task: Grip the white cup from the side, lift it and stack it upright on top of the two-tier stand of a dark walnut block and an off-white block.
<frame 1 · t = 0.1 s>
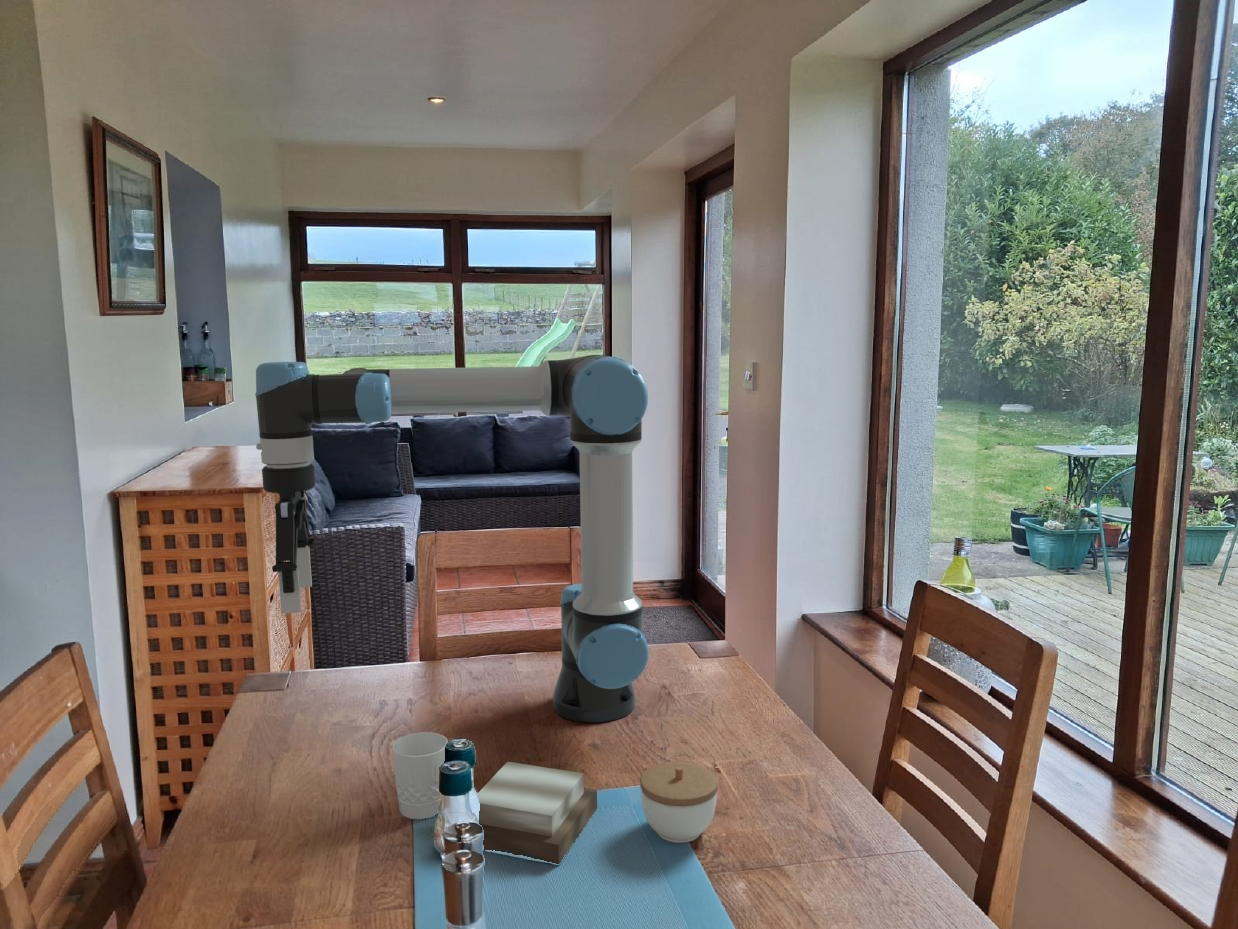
hand: (297, 599, 143), 28 cm above the table, tool pointing down, fingers open, 13 cm apart
white cup: (422, 809, 135), on the table
block stand: (529, 826, 130), on the table
lidded jar: (678, 832, 129), on the table
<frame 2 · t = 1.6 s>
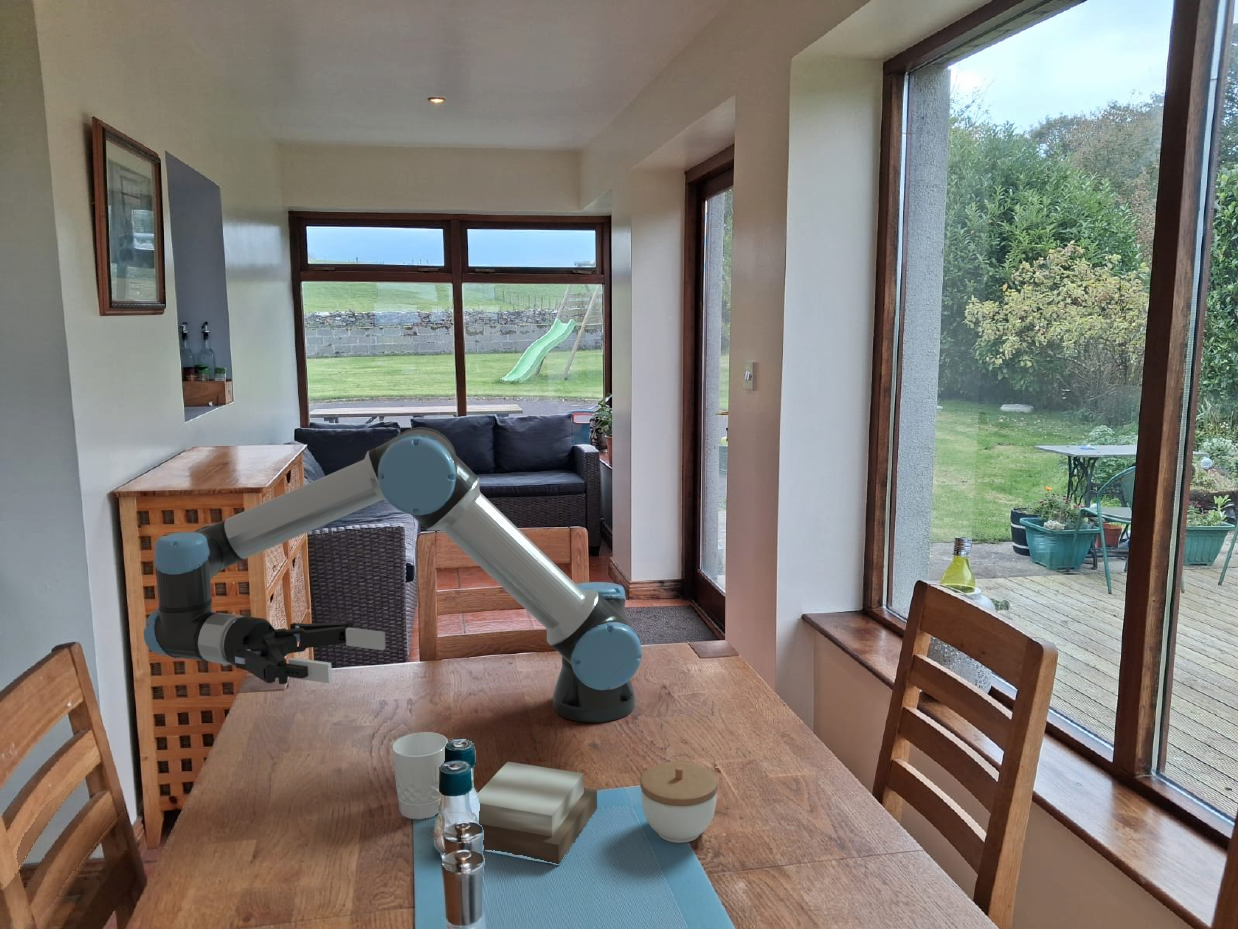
hand: (358, 656, 135), 22 cm above the table, tool horizontal, fingers open, 13 cm apart
nothing on the table moved.
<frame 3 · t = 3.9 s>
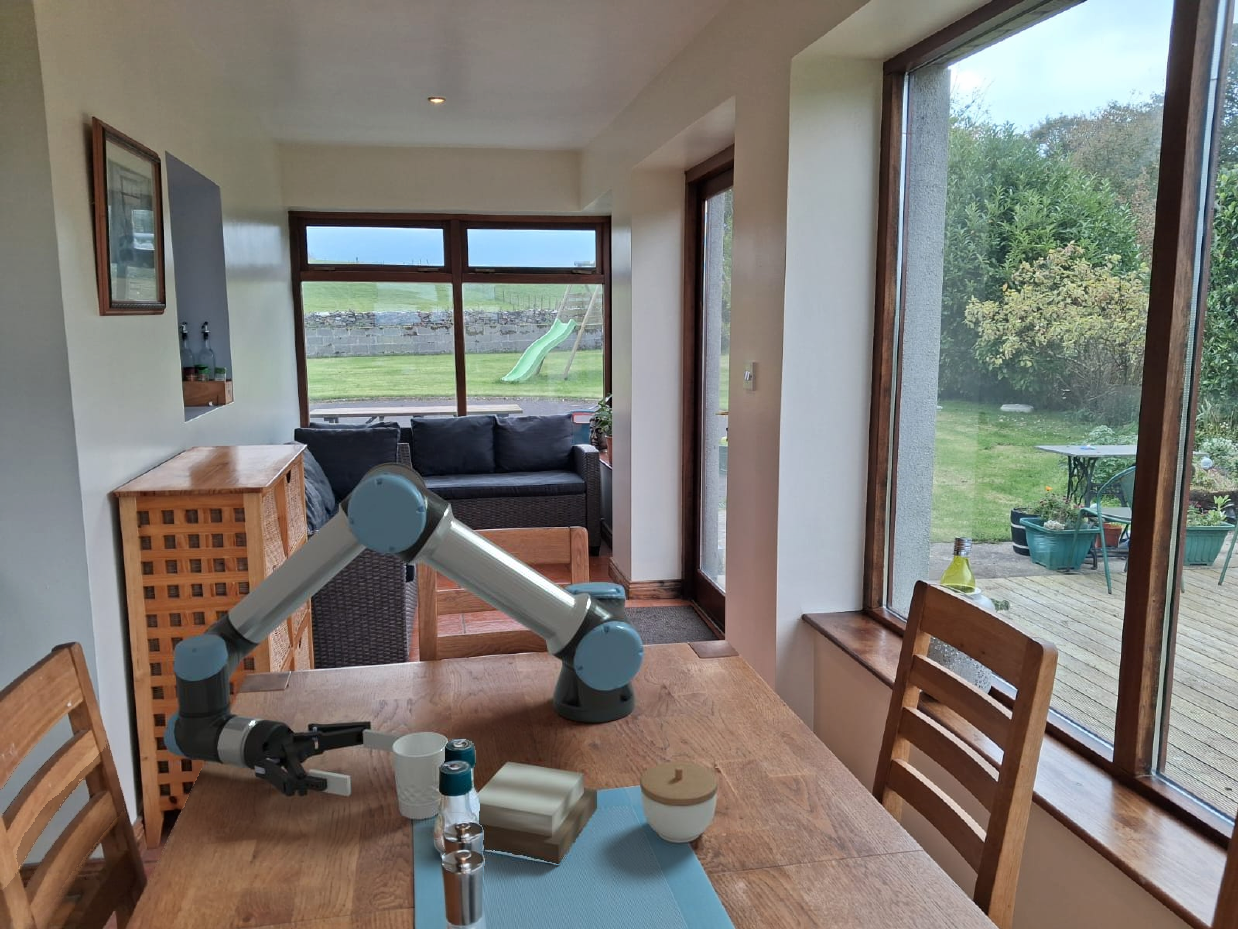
hand: (376, 764, 136), 6 cm above the table, tool horizontal, fingers open, 13 cm apart
nothing on the table moved.
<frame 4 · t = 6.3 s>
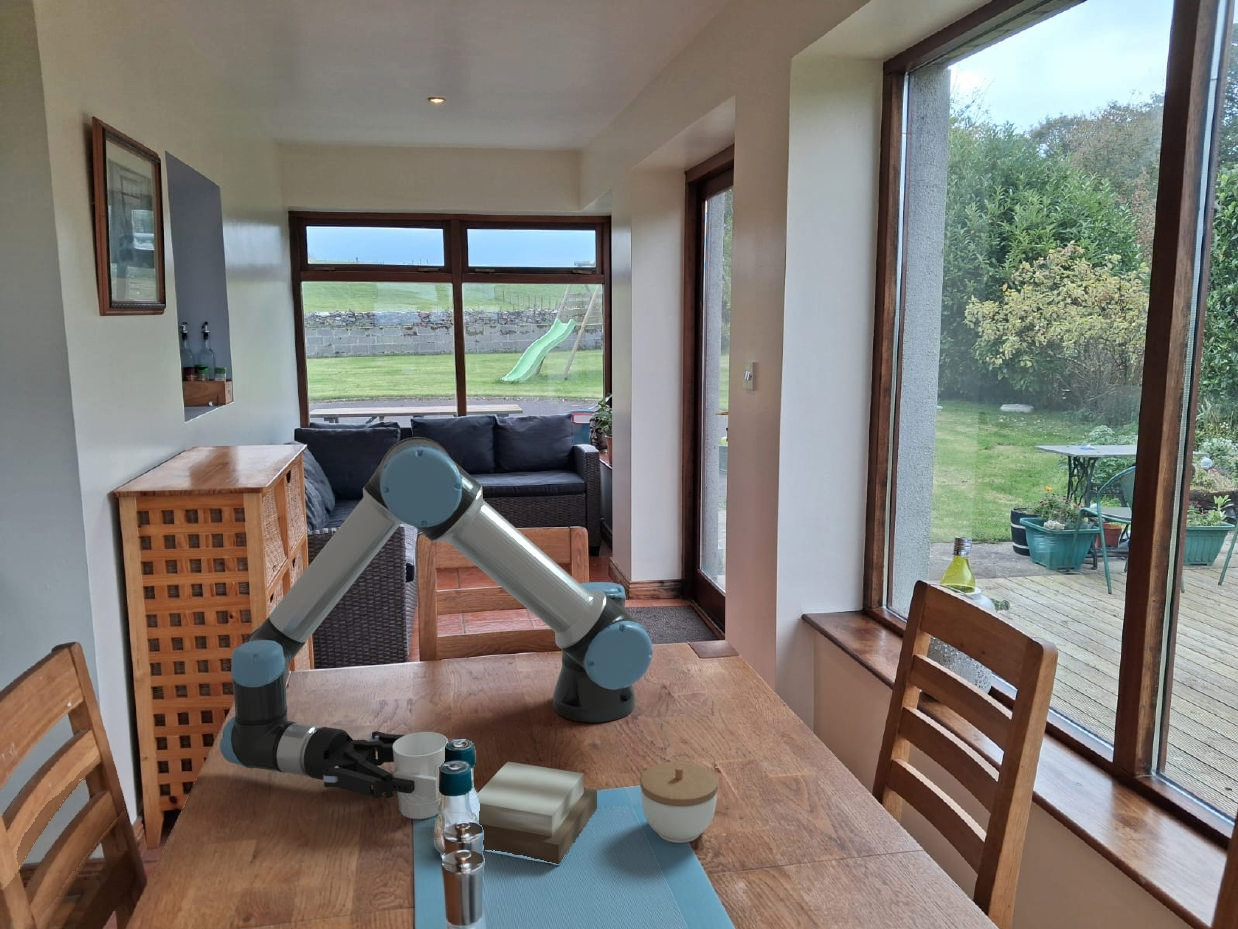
hand: (451, 774, 133), 6 cm above the table, tool horizontal, fingers closed on white cup, 7 cm apart
white cup: (422, 809, 135), on the table, touching gripper
everything else where it was.
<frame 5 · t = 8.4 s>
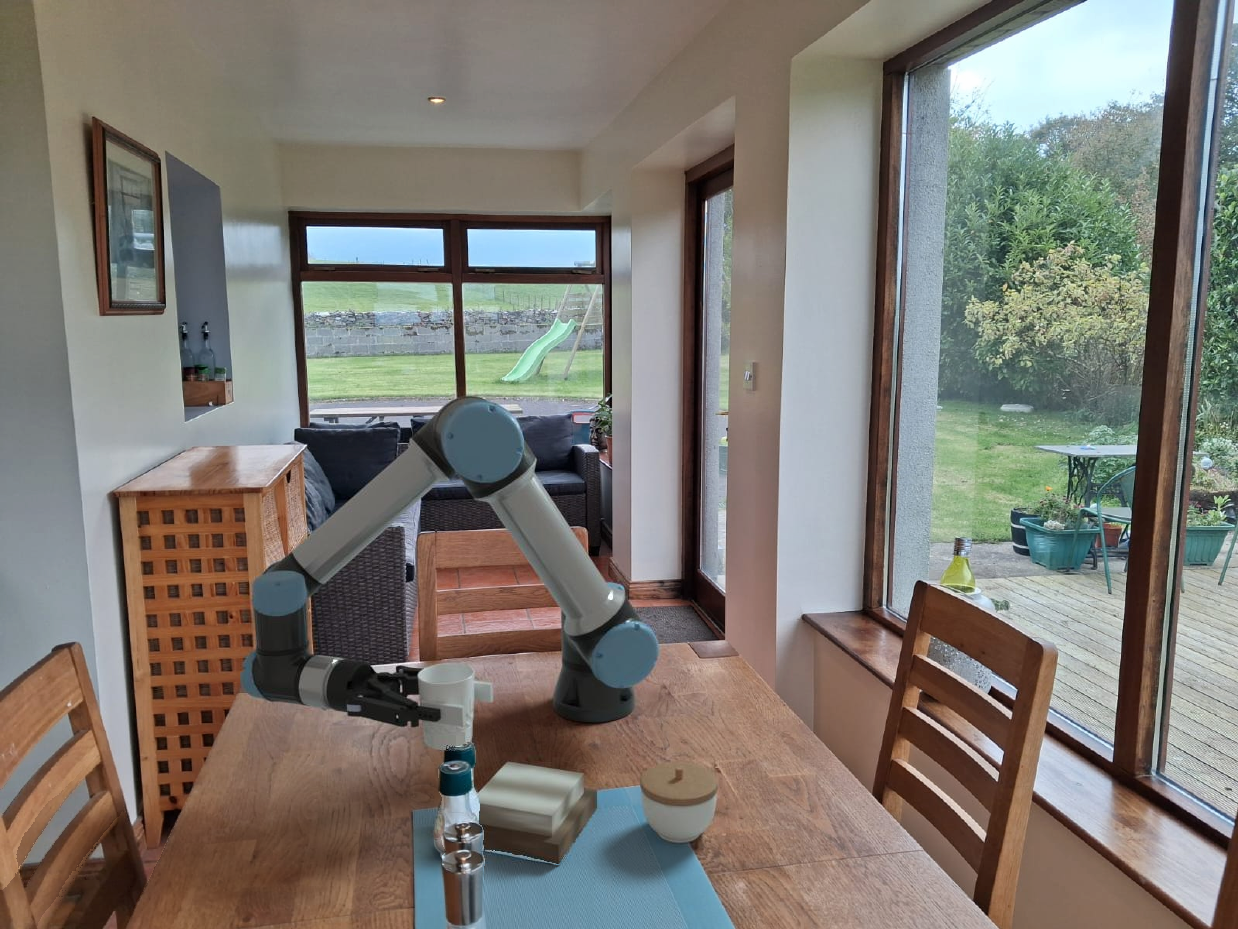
hand: (478, 704, 128), 18 cm above the table, tool horizontal, fingers closed on white cup, 7 cm apart
white cup: (448, 741, 131), point 11 cm above the table, touching gripper
everything else where it was.
when the fingers open (13 cm above the table, at t = 10.3 s): white cup drops 1 cm, resting on block stand.
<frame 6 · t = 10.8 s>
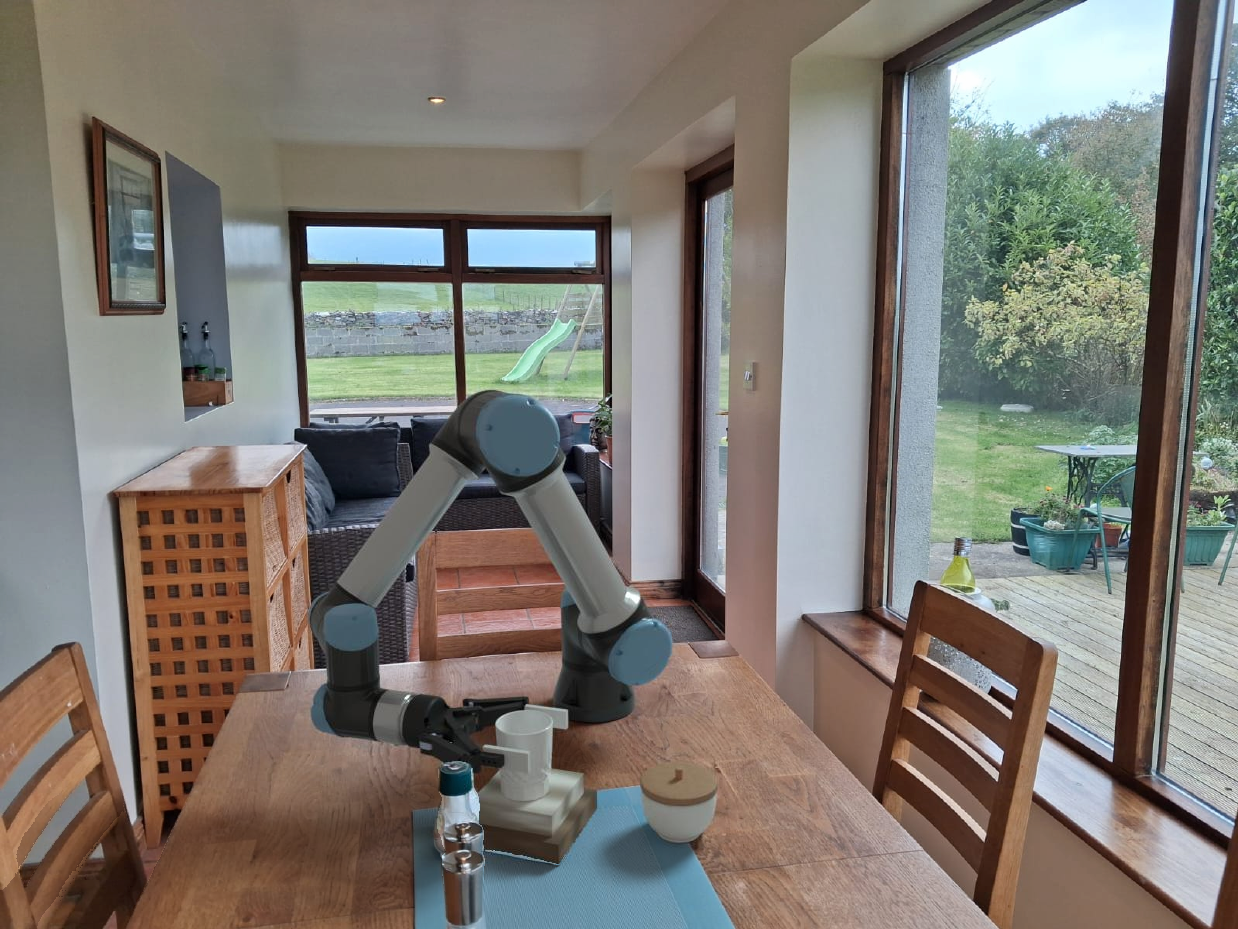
hand: (549, 740, 127), 13 cm above the table, tool horizontal, fingers open, 13 cm apart
white cup: (525, 791, 128), point 6 cm above the table, touching block stand
everything else where it was.
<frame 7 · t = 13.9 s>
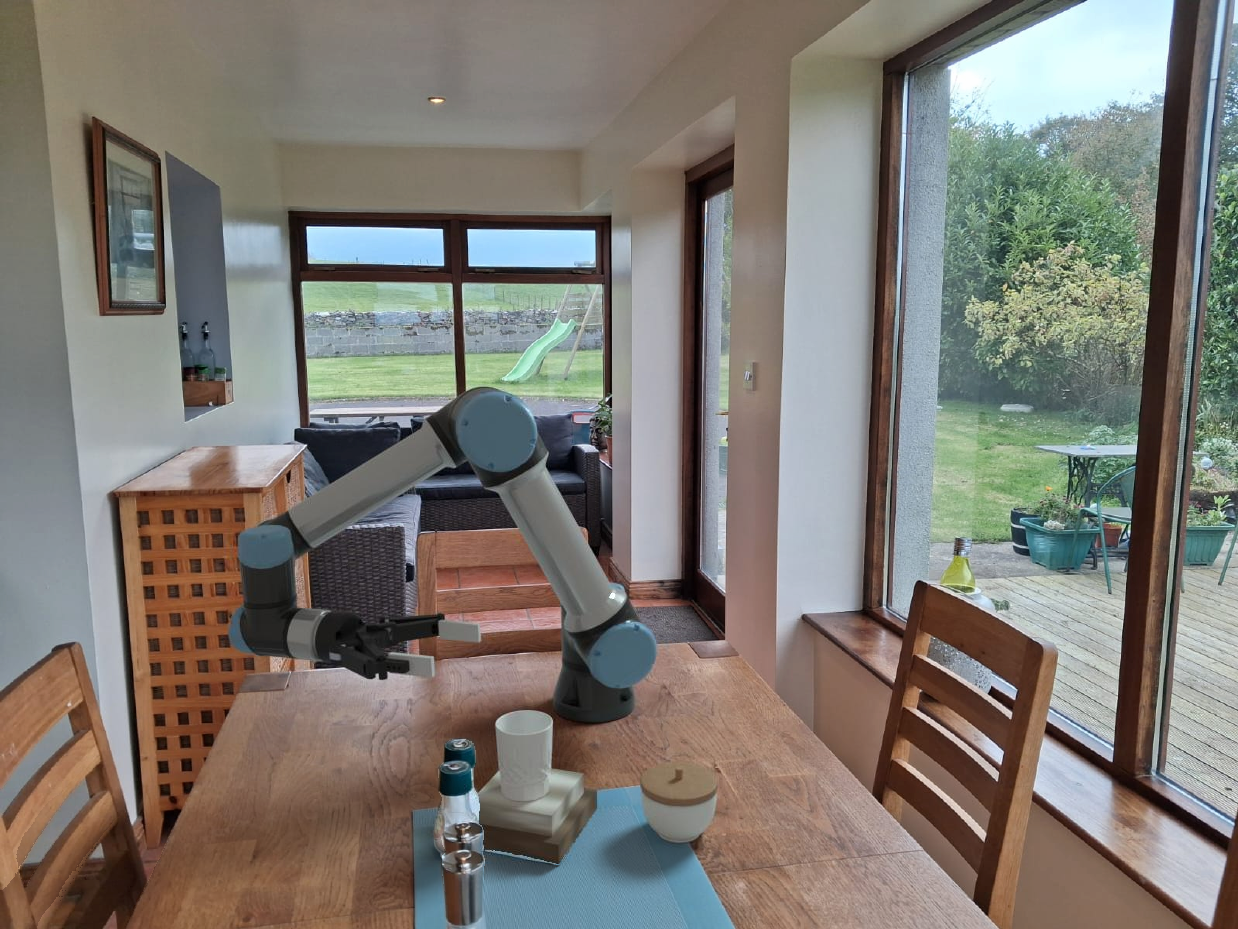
hand: (457, 649, 129), 25 cm above the table, tool horizontal, fingers open, 13 cm apart
nothing on the table moved.
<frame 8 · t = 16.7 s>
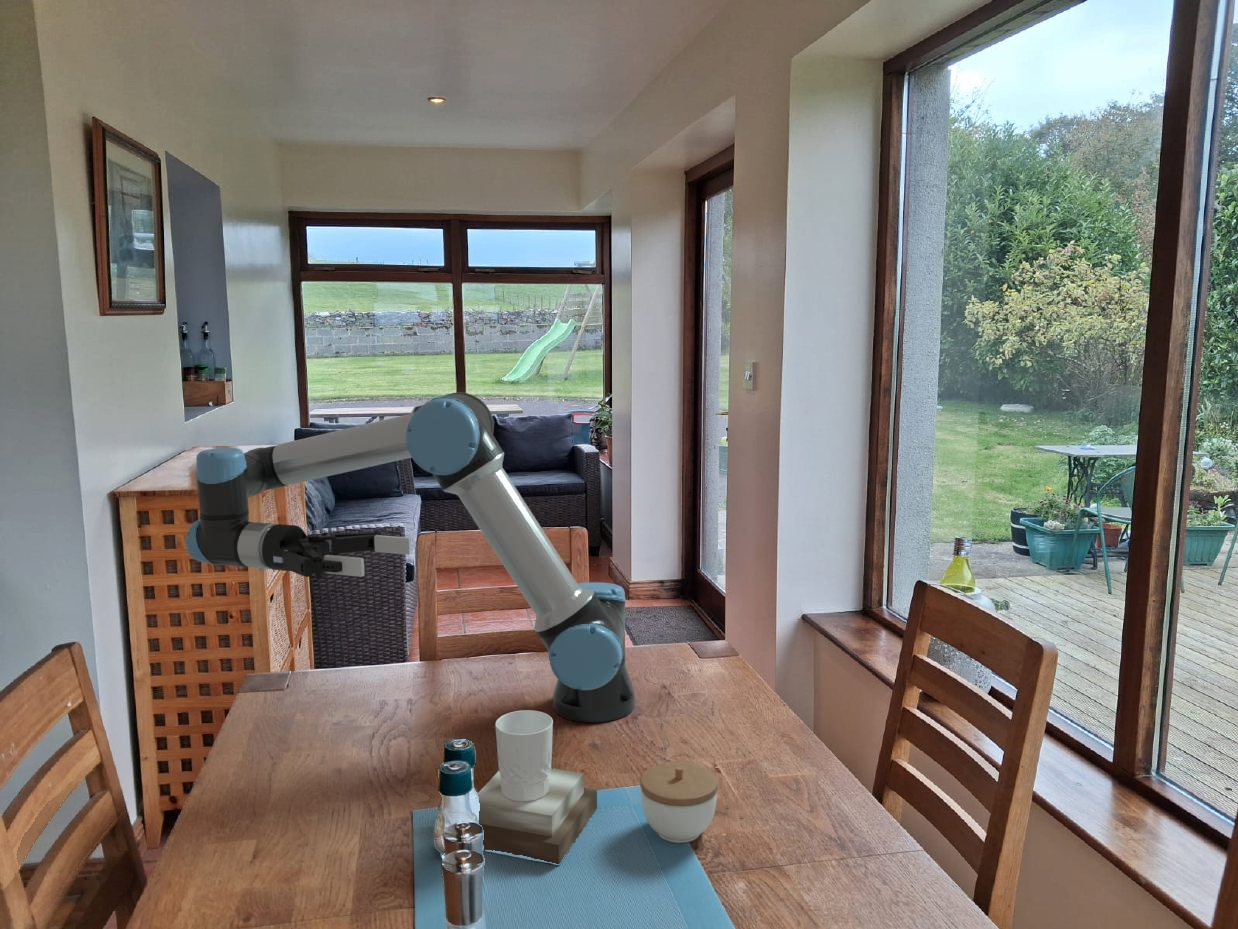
hand: (387, 556, 145), 34 cm above the table, tool horizontal, fingers open, 13 cm apart
nothing on the table moved.
at the end: white cup inside the target area on the block stand (0.9 cm from its centre), point 5.8 cm above the block stand's base; white cup tilted 0°; the gripper is holding nothing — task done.
